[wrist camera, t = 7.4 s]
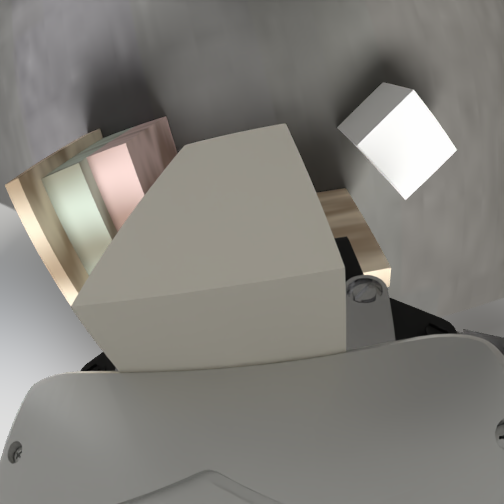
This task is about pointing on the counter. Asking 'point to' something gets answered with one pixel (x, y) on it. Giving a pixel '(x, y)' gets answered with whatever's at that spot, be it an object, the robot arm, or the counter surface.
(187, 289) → the white block
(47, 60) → the counter surface
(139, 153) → the wide wooden block
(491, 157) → the counter surface
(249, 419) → the robot arm
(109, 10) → the counter surface
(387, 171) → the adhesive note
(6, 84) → the counter surface
